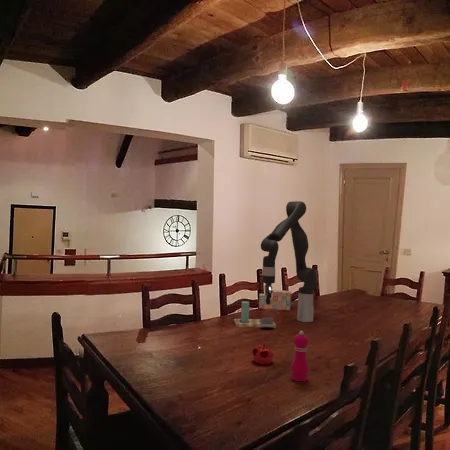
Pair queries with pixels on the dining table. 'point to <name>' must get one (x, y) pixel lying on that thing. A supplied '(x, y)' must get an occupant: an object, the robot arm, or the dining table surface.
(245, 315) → the peg
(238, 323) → the puzzle board
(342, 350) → the dining table surface
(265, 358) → the pomegranate
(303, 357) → the pepper mill
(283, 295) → the stack of blocks
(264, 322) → the lid
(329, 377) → the dining table surface
